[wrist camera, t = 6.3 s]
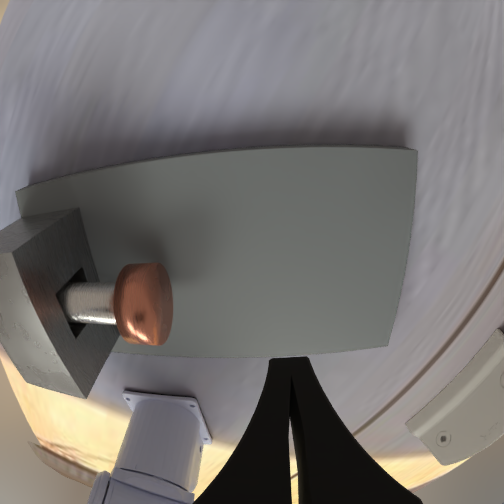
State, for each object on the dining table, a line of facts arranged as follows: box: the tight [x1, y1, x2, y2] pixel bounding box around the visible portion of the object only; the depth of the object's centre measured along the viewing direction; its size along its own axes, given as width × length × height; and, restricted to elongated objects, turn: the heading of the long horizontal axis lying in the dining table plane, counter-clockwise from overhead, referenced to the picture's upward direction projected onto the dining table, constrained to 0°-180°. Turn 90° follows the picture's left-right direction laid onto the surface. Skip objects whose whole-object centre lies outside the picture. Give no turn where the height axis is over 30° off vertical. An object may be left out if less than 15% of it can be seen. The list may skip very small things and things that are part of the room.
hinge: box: [405, 329, 504, 465], centre depth 21 cm, size 17×5×10 cm, turn 157°
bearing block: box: [0, 207, 120, 399], centre depth 15 cm, size 10×6×6 cm, turn 4°
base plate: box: [15, 145, 418, 358], centre depth 18 cm, size 14×26×2 cm, turn 94°
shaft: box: [55, 263, 173, 346], centre depth 15 cm, size 4×15×4 cm, turn 94°
